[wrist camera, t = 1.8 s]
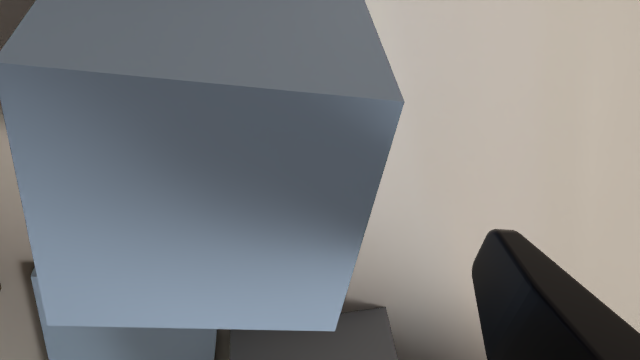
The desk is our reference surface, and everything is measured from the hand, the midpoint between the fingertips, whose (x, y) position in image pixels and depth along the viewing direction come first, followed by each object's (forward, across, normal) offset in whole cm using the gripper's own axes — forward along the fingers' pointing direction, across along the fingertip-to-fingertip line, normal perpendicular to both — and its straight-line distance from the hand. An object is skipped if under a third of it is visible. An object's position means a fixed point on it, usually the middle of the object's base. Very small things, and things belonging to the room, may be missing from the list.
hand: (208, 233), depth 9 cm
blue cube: (+5, 0, 0) cm, 5 cm away
